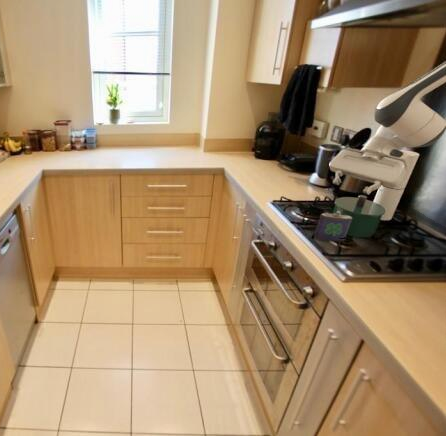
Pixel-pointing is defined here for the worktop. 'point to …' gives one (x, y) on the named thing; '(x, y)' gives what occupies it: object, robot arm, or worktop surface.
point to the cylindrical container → (394, 190)
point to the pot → (360, 223)
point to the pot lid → (360, 206)
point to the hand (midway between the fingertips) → (349, 188)
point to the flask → (332, 227)
